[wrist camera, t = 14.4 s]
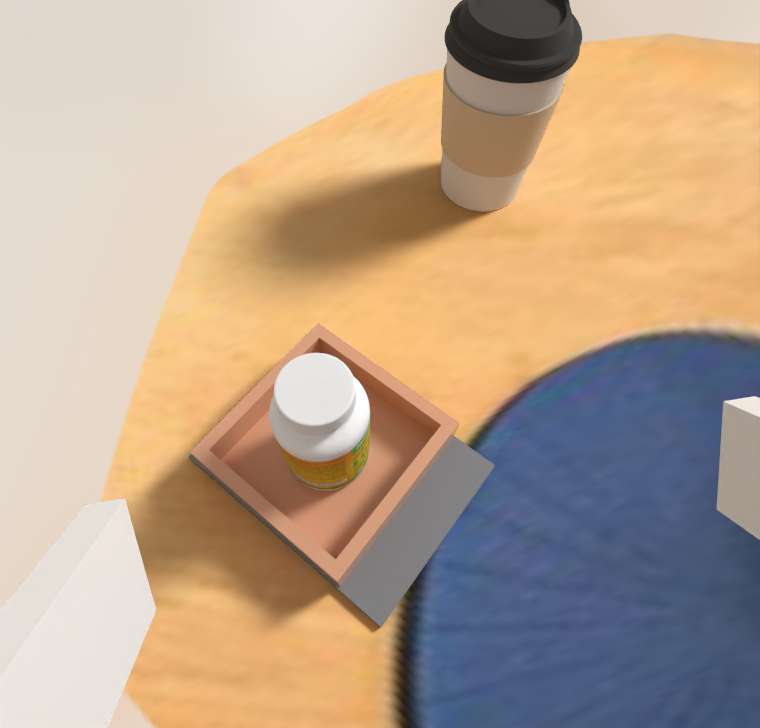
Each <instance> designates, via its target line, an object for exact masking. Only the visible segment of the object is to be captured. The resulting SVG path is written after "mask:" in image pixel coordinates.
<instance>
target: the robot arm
mask: <svg viewBox="0 0 760 728" xmlns="http://www.w3.org/2000/svg"><path fill="white" fill-rule="evenodd" d="M717 510H718V511H720V512H721V513H722V514H724V515H725V516H727V517H728V518H730V519H731V520H732V521H734V522H735V523H737V524H738V525H739V526H741V527H742V528H744V529H745V530H746V531H748V532H749V533H751V534H752V535H753V536H755V537H756V538H758V539H759V540H760V398H758V397H756V396H754V397H748V398H742V399H735V400H729V401H724V402H723V418H722V433H721V449H720V465H719V481H718V497H717ZM155 612H156V608H155V604H154V600H153V597H152V593H151V590H150V586H149V583H148V579H147V575H146V572H145V568H144V565H143V561H142V558H141V554H140V551H139V547H138V543H137V540H136V536H135V533H134V529H133V526H132V522H131V519H130V515H129V511H128V508H127V504H126V501H125V498H123V499H117V500H110V501H104V502H98V503H92V504H86V505H85V506H84V508H83V509H82V510H81V511H80V513H79V514H78V515H77V516H76V518H75V519H74V520H73V521H72V522H71V524H70V525H69V526H68V527H67V529H66V530H65V531H64V532H63V534H62V535H61V536H60V537H59V538H58V540H57V541H56V542H55V543H54V544H53V546H52V547H51V548H50V549H49V550H48V552H47V553H46V554H45V555H44V557H43V558H42V559H41V560H40V562H39V563H38V564H37V565H36V566H35V568H34V569H33V570H32V571H31V573H30V574H29V575H28V576H27V577H26V579H25V580H24V581H23V583H22V584H21V585H20V586H19V587H18V589H17V590H16V591H15V592H14V594H13V595H12V596H11V597H10V598H9V599H8V601H7V602H6V603H5V604H4V606H3V607H2V608H1V609H0V728H108V726H109V723H110V721H111V719H112V716H113V713H114V711H115V708H116V706H117V704H118V701H119V699H120V697H121V694H122V692H123V689H124V687H125V685H126V682H127V680H128V677H129V675H130V672H131V670H132V668H133V665H134V663H135V660H136V658H137V655H138V653H139V651H140V648H141V646H142V643H143V641H144V638H145V636H146V634H147V631H148V629H149V626H150V624H151V621H152V619H153V617H154V614H155Z"/></svg>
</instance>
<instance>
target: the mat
mask: <svg viewBox="0 0 760 728" xmlns="http://www.w3.org/2000/svg"><path fill="white" fill-rule="evenodd" d="M189 458H190V459H191V460H192V461H193V462H195V463H196V464H197V465H198V466H199V467H200V468H201V469H202V470H204V471H205V472H206V473H207V474H208V475H209V476H210V477H211V478H213V479H214V480H215V481H216V482H217V483H218V484H219V485H221V486H222V487H223V488H224V489H225V490H226V491H227V492H228V493H230V494H231V495H232V496H233V497H234V498H235V499H236V500H238V501H239V502H240V503H241V504H242V505H243V506H244V507H245V508H247V509H248V510H249V511H250V512H251V513H252V514H253V515H255V516H256V517H257V518H258V519H259V520H260V521H261V522H262V523H264V524H265V525H266V526H267V527H268V528H269V529H270V530H271V531H273V532H274V533H275V534H276V535H277V536H278V537H279V538H281V539H282V540H283V541H284V542H285V543H286V544H287V545H288V546H290V547H291V548H292V549H293V550H294V551H295V552H296V553H298V554H299V555H300V556H301V557H302V558H303V559H304V560H305V561H307V562H308V563H309V564H310V565H311V566H312V567H313V568H315V569H316V570H317V571H318V572H319V573H320V574H321V575H322V576H324V577H325V578H326V579H327V580H328V581H329V582H330V583H331V584H333V585H334V586H335V587H336V588H337V589H338V590H339V591H341V592H342V593H343V594H344V595H345V596H346V597H347V598H348V599H350V600H351V601H352V602H353V603H354V604H355V605H356V606H358V607H359V608H360V609H361V610H362V611H363V612H364V613H365V614H367V615H368V616H369V617H370V618H371V619H372V620H373V621H375V622H376V623H377V624H378V625H379V626H380V627H382V625H383V624H384V623H385V621H386V620H387V618H388V617H389V615H390V614H391V613H392V611H393V610H394V608H395V607H396V606H397V604H398V603H399V601H400V600H401V598H402V597H403V596H404V594H405V593H406V591H407V590H408V589H409V587H410V586H411V584H412V583H413V581H414V580H415V579H416V577H417V576H418V574H419V573H420V571H421V570H422V569H423V567H424V566H425V564H426V563H427V562H428V560H429V559H430V557H431V556H432V554H433V553H434V552H435V550H436V549H437V547H438V546H439V545H440V543H441V542H442V540H443V539H444V537H445V536H446V535H447V533H448V532H449V530H450V529H451V528H452V526H453V525H454V523H455V522H456V520H457V519H458V518H459V516H460V515H461V513H462V512H463V511H464V509H465V508H466V506H467V505H468V503H469V502H470V501H471V499H472V498H473V496H474V495H475V494H476V492H477V491H478V489H479V488H480V486H481V485H482V484H483V482H484V481H485V479H486V478H487V476H488V475H489V474H490V472H491V471H492V469H493V468H494V467H495V465H494V464H492V463H491V462H489V461H488V460H487V459H485V458H484V457H482V456H481V455H480V454H478V453H477V452H476V451H474V450H473V449H471V448H470V447H469V446H467V445H466V444H464V443H463V442H462V441H460V440H459V439H457V438H456V437H455V436H454V438H453V439H452V441H451V442H450V443H449V445H448V446H447V447H446V449H445V450H444V451H443V453H442V454H441V455H440V456H439V458H438V459H437V460H436V462H435V463H434V464H433V466H432V467H431V468H430V470H429V471H428V472H427V474H426V475H425V476H424V477H423V479H422V480H421V481H420V483H419V484H418V485H417V487H416V488H415V489H414V491H413V492H412V493H411V494H410V496H409V497H408V498H407V500H406V501H405V502H404V504H403V505H402V506H401V508H400V509H399V510H398V512H397V513H396V514H395V515H394V517H393V518H392V519H391V521H390V522H389V523H388V525H387V526H386V527H385V529H384V530H383V531H382V533H381V534H380V535H379V536H378V538H377V539H376V540H375V542H374V543H373V544H372V546H371V547H370V548H369V550H368V551H367V552H366V553H365V555H364V556H363V557H362V559H361V560H360V561H359V563H358V564H357V565H356V567H355V568H354V569H353V571H352V572H351V573H350V574H349V576H348V577H347V578H346V580H345V581H344V582H343V584H342V585H341V586H339V585H338V584H337V583H336V582H335V581H334V580H333V579H332V578H330V577H329V576H328V575H327V574H326V573H325V572H324V571H322V570H321V569H320V568H319V567H318V566H317V565H316V564H314V563H313V562H312V561H311V560H310V559H309V558H308V557H307V556H305V555H304V554H303V553H302V552H301V551H300V550H299V549H297V548H296V547H295V546H294V545H293V544H292V543H291V542H289V541H288V540H287V539H286V538H285V537H284V536H283V535H282V534H280V533H279V532H278V531H277V530H276V529H275V528H274V527H272V526H271V525H270V524H269V523H268V522H267V521H266V520H264V519H263V518H262V517H261V516H260V515H259V514H258V513H257V512H255V511H254V510H253V509H252V508H251V507H250V506H249V505H247V504H246V503H245V502H244V501H243V500H242V499H241V498H239V497H238V496H237V495H236V494H235V493H234V492H233V491H231V490H230V489H229V488H228V487H227V486H226V485H225V484H224V483H222V482H221V481H220V480H219V479H218V478H217V477H216V476H214V475H213V474H212V473H211V472H210V471H209V470H208V469H206V468H205V467H204V466H203V465H202V464H201V463H200V462H199V461H198V460H197V459H196V458H195V457H194V456H193V455H192V454H191V455H190V456H189Z"/></svg>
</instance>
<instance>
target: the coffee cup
mask: <svg viewBox="0 0 760 728" xmlns="http://www.w3.org/2000/svg"><path fill="white" fill-rule="evenodd" d="M581 41H582V31H581V28H580V25H579V23H578V21H577V20H576V18H575V17H574V15H573V14H572V12H571V8H570V5H569V0H462V1H461V2H460V3H459V4H458V5H457V6H456V7H455V8H454V10H453V11H452V14H451V17H450V23H449V25H448V26H447V28H446V32H445V44H446V47H447V63H446V65H445V68H444V81H443V105H442V130H441V145H442V163H441V186H442V189H443V191H444V193H445V194H446V195H447V197H448V198H449V199H450V200H451V201H453V202H454V203H455V204H457V205H459V206H461V207H463V208H466V209H469V210H472V211H479V212H489V211H495V210H498V209H501V208H503V207H505V206H507V205H508V204H509V203H511V202H512V200H513V199H514V198H515V196H516V194H517V191H518V189H519V186H520V184H521V182H522V179H523V177H524V175H525V172H526V170H527V168H528V166H529V164H530V163H531V162H532V160H533V158H534V156H535V154H536V152H537V149H538V147H539V145H540V142H541V140H542V138H543V135H544V133H545V131H546V128H547V126H548V124H549V122H550V119H551V117H552V115H553V112H554V110H555V108H556V106H557V103H558V101H559V99H560V96H561V94H562V92H563V88H564V81H565V79H566V76H567V74H568V72H569V69H570V68H571V67H572V66H573V65H574V63H575V62H576V60H577V58H578V56H579V51H580V45H581Z"/></svg>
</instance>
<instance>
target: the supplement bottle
mask: <svg viewBox="0 0 760 728" xmlns="http://www.w3.org/2000/svg"><path fill="white" fill-rule="evenodd" d="M269 419H270V425H271V428H272V431H273V434H274V437H275V439H276V441H277V443H278V445H279V447H280V449H281V451H282V454H283V456H284V458H285V460H286V463H287V465H288V467H289V469H290V470H291V472H292V474H293V475H294V476H295V477H296V478H297V480H299V481H300V482H301V483H302V484H304V485H306V486H308V487H310V488H313V489H316V490H322V491H331V490H336V489H340V488H342V487H345V486H347V485H349V484H350V483H352V482H353V481H354V480H355V479H356V478H358V476H359V475H360V474H361V473H362V471H363V470H364V468H365V466H366V464H367V461H368V457H369V450H370V407H369V400H368V397H367V394H366V392H365V390H364V388H363V387H362V385H361V384H360V382H359V381H358V380H357V379H356V378H355V377H354V376H353V375H352V373H351V371H350V370H349V368H348V367H347V366H346V365H345V364H344V363H343V362H342V361H341V360H339V359H338V358H336V357H334V356H331V355H328V354H324V353H309V354H304V355H301V356H298V357H296V358H294V359H293V360H291V361H290V362H288V363H287V364H286V365H285V366H284V367H283V368H282V369H281V371H280V372H279V374H278V376H277V378H276V381H275V384H274V395H273V397H272V400H271V404H270V409H269Z"/></svg>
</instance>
